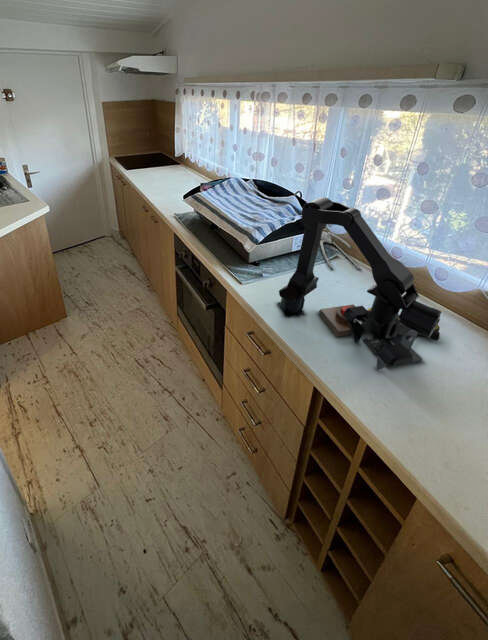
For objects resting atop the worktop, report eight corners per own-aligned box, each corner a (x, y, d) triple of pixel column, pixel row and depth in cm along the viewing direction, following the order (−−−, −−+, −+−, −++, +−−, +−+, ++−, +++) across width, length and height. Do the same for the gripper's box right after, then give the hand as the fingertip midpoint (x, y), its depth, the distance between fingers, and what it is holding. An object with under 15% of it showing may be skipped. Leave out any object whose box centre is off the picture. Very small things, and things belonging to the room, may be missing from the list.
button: (346, 318, 93) (347, 314, 92) (338, 310, 96) (340, 306, 95) (356, 316, 94) (358, 312, 93) (349, 309, 97) (350, 304, 96)
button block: (337, 336, 91) (340, 326, 90) (318, 314, 100) (321, 304, 98) (372, 331, 93) (376, 321, 91) (351, 309, 102) (354, 300, 100)
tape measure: (408, 334, 92) (412, 325, 90) (410, 321, 97) (414, 312, 95) (436, 344, 88) (440, 335, 87) (436, 330, 93) (441, 321, 91)
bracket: (388, 367, 82) (400, 341, 77) (366, 342, 89) (375, 317, 85) (421, 361, 83) (434, 335, 78) (396, 337, 91) (406, 312, 86)
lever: (376, 357, 82) (374, 352, 81) (363, 343, 86) (361, 338, 85) (414, 338, 81) (413, 332, 80) (400, 324, 85) (398, 319, 84)
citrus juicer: (351, 246, 118) (323, 219, 145) (326, 257, 120) (303, 228, 148) (360, 268, 121) (332, 238, 149) (336, 279, 124) (312, 247, 151)
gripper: (443, 335, 71) (420, 379, 78) (384, 286, 87) (369, 327, 94) (401, 342, 69) (381, 386, 76) (349, 291, 85) (337, 332, 93)
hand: (367, 355), depth 85 cm, fingers open, 9 cm apart
